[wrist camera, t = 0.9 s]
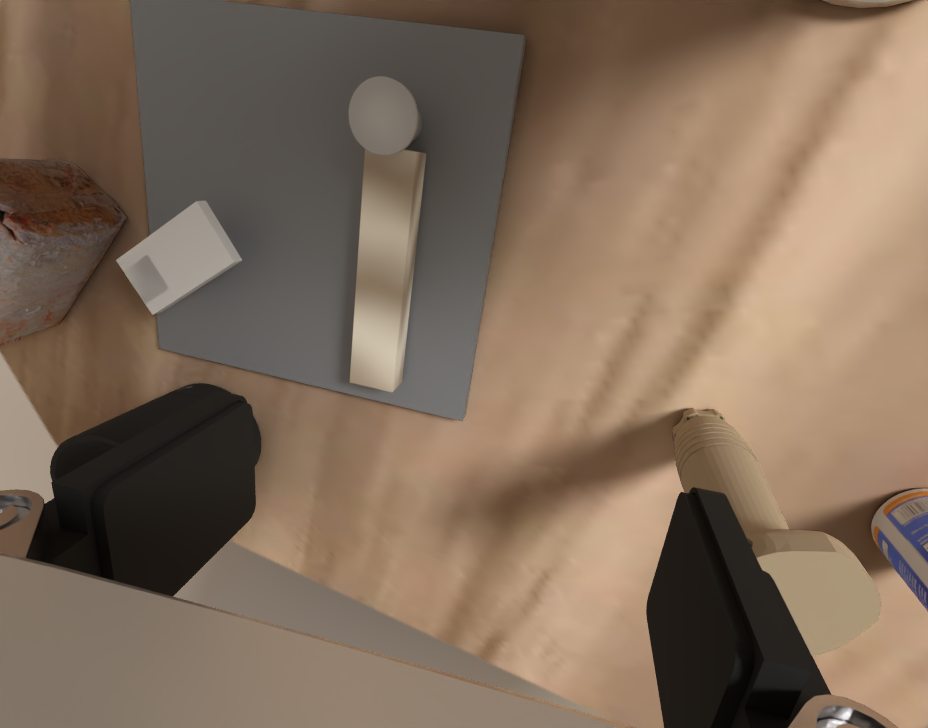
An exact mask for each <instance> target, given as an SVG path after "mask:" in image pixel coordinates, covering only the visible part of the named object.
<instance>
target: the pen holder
mask: <svg viewBox="0 0 928 728" xmlns="http://www.w3.org/2000/svg"><path fill="white" fill-rule="evenodd" d="M218 391H219V392H225V393H230V392H228V391H226V390H224V389H222V388H219V387H216V386H213V385H209V384H192V385H188V386H185V387H183V388H180V389H178V390H175V391H173V392H171V393H168V394H166V395H164V396H161V397H159V398H157V399H155V400H152V401H150V402H148V403H146V404H144V405H141V406H139V407H137V408H135V409H133V410H131V411H128V412H126V413H124V414H122V415H120V416H117V417H115V418H113V419H111V420H109V421H106V422H104V423H102V424H100V425H98V426H96V427H93V428H91V429H89V430H87V431H85V432H82V433H80V434H78V435H76V436H74V437H72V438H69V439H67V440H66V441H64V442H63V443H62V444H61V445H60V446H59V447H58V448H57V450H56V451H55V453H54V455H53V457H52V461H51V466H50V473H51V478H52V481H55V480H57V479H59V478H60V477H62V476H64V475H66V474H68V473H69V472H71V471H73V470H75V469H77V468H79V467H80V466H82V465H84V464H86V463H88V462H89V461H91V460H93V459H95V458H97V457H98V456H100V455H102V454H104V453H106V452H108V451H109V450H111V449H113V448H115V447H117V446H118V445H120V444H122V443H124V442H126V441H127V440H129V439H131V438H133V437H135V436H137V435H138V434H140V433H142V432H144V431H146V430H147V429H149V428H151V427H153V426H155V425H156V424H158V423H160V422H162V421H164V420H166V419H167V418H169V417H171V416H173V415H175V414H176V413H178V412H180V411H182V410H184V409H185V408H187V407H189V406H191V405H193V404H195V403H196V402H198V401H200V400H202V399H204V398H205V397H207V396H209V395H211V394H213V393H215V392H218ZM230 394H231V393H230ZM253 441H254V467H255V465H256V464H257V462H258V459H259V456H260V452H261V437H260V431H259V428H258V425H257V423H256V421H255V419H254V417H253Z"/></svg>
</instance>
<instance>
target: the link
mask: <svg viewBox="0 0 928 728" xmlns="http://www.w3.org/2000/svg"><path fill="white" fill-rule="evenodd" d="M425 162H426V153H422V152H415V151H409V150H403V151H401V152H399V153H396V154H392V155H381V154H375V153H372V152H370V151H368V150H366V149H365V157H364V172H363V188H362V203H361V218H360V233H359V248H358V264H357V279H356V294H355V309H354V324H353V339H352V355H351V370H350V383H355V384H359V385H363V386H367V387H372V388H376V389H380V390H384V391H388V392H393V391H394V390H395V389H396V388H397V387H398V386H399V385H400V384H401V383H402V376H403V367H404V357H405V348H406V339H407V329H408V320H409V311H410V302H411V292H412V283H413V274H414V264H415V255H416V246H417V237H418V227H419V218H420V209H421V199H422V190H423V181H424V172H425Z"/></svg>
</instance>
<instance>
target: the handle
mask: <svg viewBox="0 0 928 728" xmlns="http://www.w3.org/2000/svg"><path fill="white" fill-rule="evenodd" d="M672 434H673V441H675V445H674V449H675V460H676V466H677V470H678V474H679V477H680V481H681V484H682V487H683V489H684V492H685V493H689V491H690V490H691V488H693V487H696V488H701V489H706V490H711V491H716V492H721V493H724V494H725V495H726V496H727V498H728V500H729V502H730V505H731V507H732V509H733V511H734V513H735V515H736V517H737V519H738V521H739V523H740V525H741V527H742V529H743V531H744V533H745V536H746V538H747V540H748V542H749V544H750V546H751V548H752V550H753V552H754V554H755V556H756V558H757V560H758V562H759V564H760V566H761V569H762V571H765V572H767V573H769V574H770V575H771V577H772V578H773V580H774V581H775V583H776V585H777V587H778V589H779V591H780V593H781V595H782V597H783V599H784V601H785V603H786V605H787V607H788V609H789V611H790V613H791V615H792V617H793V619H794V621H795V623H796V625H797V627H798V629H799V631H800V633H801V635H802V637H803V639H804V641H805V643H806V645H807V647H808V649H809V651H810V653H811V655H812V656H815V655H819V654H823V653H826V652H829V651H832V650H835V649H837V648H839V647H841V646H843V645H844V644H846V643H848V642H849V641H851V640H852V639H854V638H855V637H857V636H858V635H860V634H861V633H862V632H864V631H865V630H867V629H868V628H869V627H871V626H872V625H873V624H875V623H876V622H877V621H878V618H879V615H880V611H881V600H880V595H879V592H878V590H877V587H876V585H875V583H874V581H873V580H872V578H871V577H870V576H869V574H868V573H867V571H866V570H865V568H864V567H863V566H862V564H861V563H860V561H859V560H858V559H857V557H856V556H855V555H854V554H853V553H852V551H850V550H849V549H848V548H847V547H846V546H845V545H844V544H843V543H842V542H841V541H839V540H837V539H836V538H834V537H832V536H830V535H828V534H826V533H824V532H820V531H809V530H795V529H789V527H788V525H787V523H786V521H785V519H784V517H783V515H782V513H781V511H780V509H779V507H778V505H777V503H776V500H775V498H774V496H773V493H772V491H771V489H770V487H769V484H768V482H767V480H766V478H765V475H764V473H763V471H762V469H761V466H760V464H759V463H758V461H757V459H756V457H755V456H754V454H753V452H752V450H751V449H750V447H749V446H748V445H747V443H746V442H745V441H744V439H743V438H742V437H741V436H740V434H739V433H738V432H737V431H736V430H735V429H734V428H733V427H732V426H730V425H729V424H728V423H727V422H725V418H724V417H723V416H722V414H720V413H719V412H718V411H716V410H714V409H711V410H707V411H699V410H695V409H694V408H690V409H687V410H686V411H684V412H683V417H682V419H681V421H680V422H679V423H678V424H677V425H675V426H674V427H673V432H672Z"/></svg>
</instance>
